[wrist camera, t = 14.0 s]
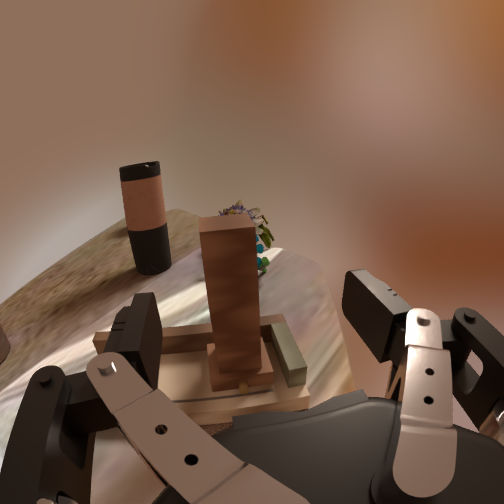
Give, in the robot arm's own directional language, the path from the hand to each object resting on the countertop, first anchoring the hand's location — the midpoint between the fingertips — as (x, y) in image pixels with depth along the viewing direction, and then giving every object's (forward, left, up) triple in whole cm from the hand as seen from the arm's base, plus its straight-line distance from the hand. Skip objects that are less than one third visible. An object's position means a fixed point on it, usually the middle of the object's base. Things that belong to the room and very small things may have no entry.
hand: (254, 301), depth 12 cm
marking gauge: (+4, +10, -14) cm, 18 cm away
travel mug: (+6, +44, -16) cm, 48 cm away
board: (0, +12, -16) cm, 20 cm away
